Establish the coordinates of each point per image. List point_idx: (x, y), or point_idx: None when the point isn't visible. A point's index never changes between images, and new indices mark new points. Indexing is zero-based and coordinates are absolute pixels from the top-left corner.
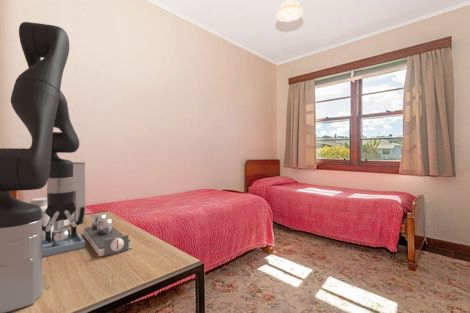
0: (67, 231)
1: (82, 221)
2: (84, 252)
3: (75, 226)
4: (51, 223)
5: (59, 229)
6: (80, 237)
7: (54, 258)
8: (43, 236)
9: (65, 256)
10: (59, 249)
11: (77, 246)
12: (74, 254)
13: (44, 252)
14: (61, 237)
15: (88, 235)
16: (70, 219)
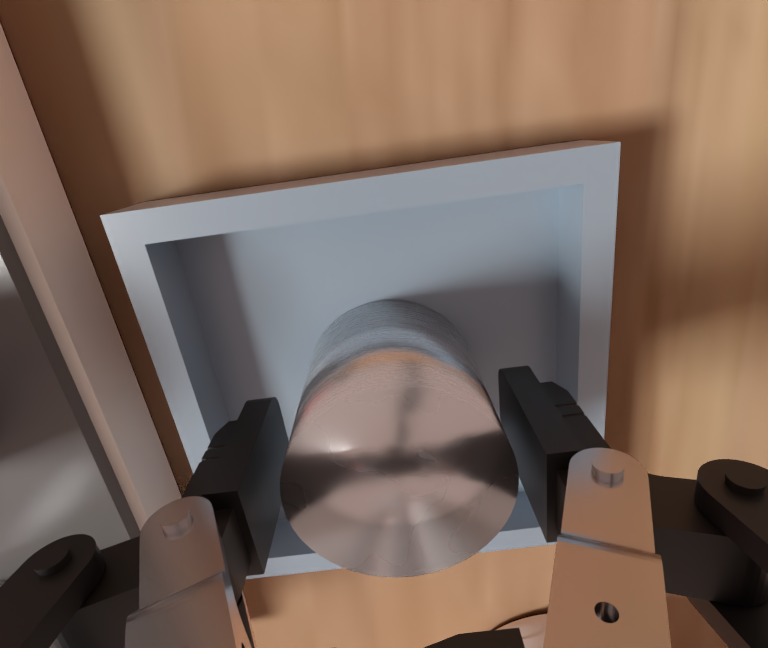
0: (305, 424)
1: (10, 583)
2: (120, 18)
3: (174, 502)
4: (607, 554)
5: (419, 568)
6: (189, 411)
7: (443, 10)
8: (538, 646)
9: (329, 5)
10: (399, 170)
11: (208, 195)
12: (233, 16)
13: (555, 148)
14: (386, 352)
15: (114, 454)
16: (190, 628)
